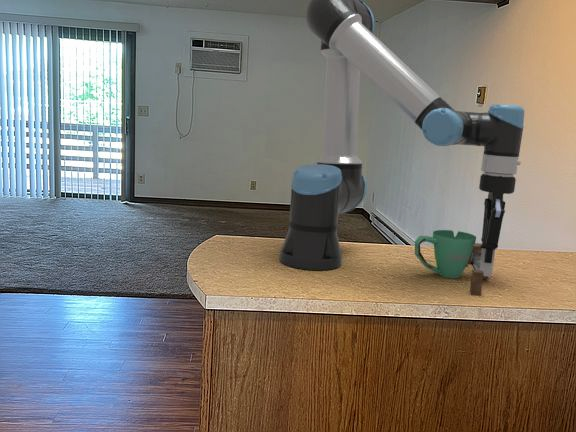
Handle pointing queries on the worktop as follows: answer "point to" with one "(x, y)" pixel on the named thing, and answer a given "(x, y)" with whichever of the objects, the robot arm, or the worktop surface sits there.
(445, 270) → the mug
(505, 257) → the worktop surface
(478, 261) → the tie bar
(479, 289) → the brown blocks
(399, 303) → the worktop surface
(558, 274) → the worktop surface
